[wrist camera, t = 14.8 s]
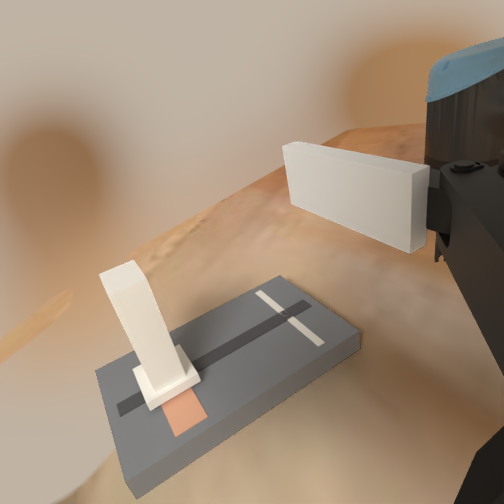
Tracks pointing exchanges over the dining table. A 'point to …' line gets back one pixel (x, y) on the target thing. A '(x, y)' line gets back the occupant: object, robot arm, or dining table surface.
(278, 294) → the slider console
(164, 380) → the fader tab
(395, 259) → the dining table surface
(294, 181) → the robot arm
